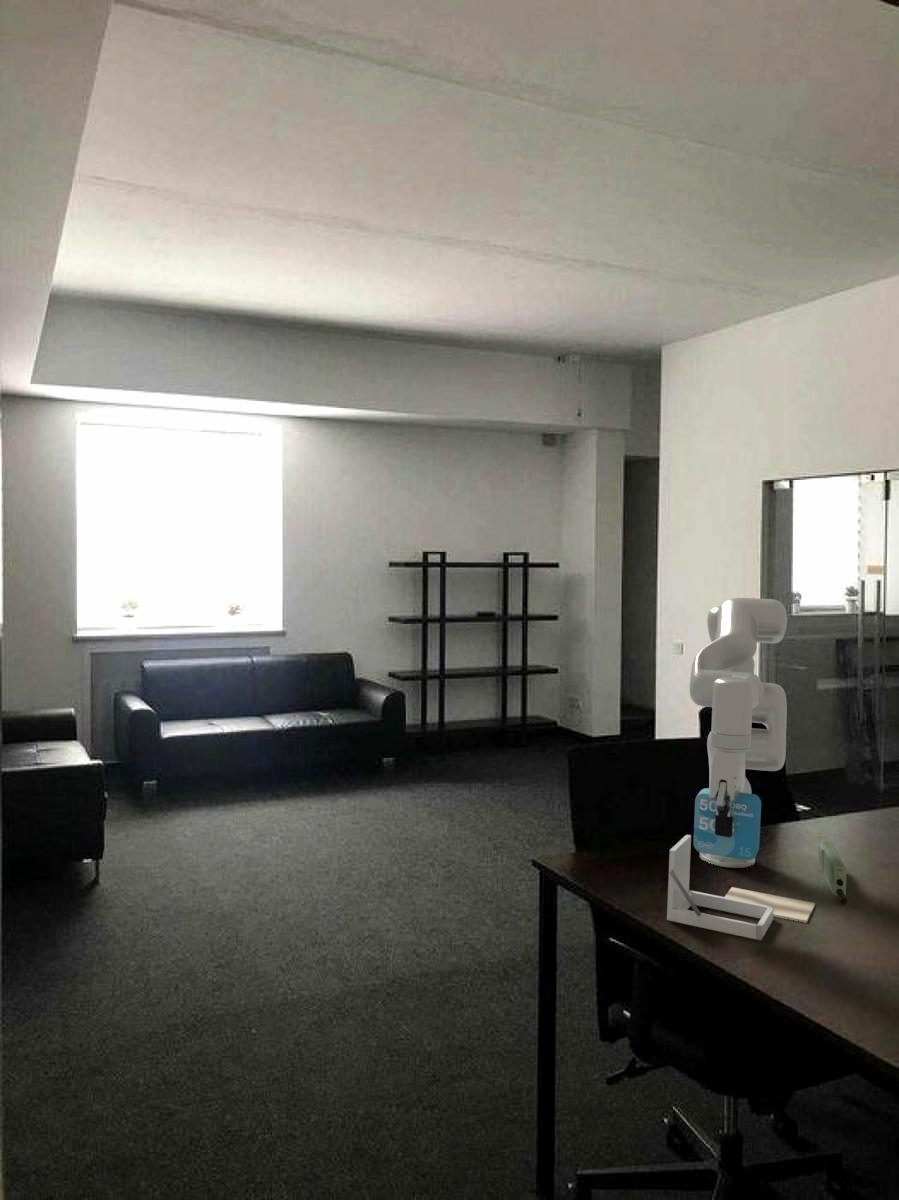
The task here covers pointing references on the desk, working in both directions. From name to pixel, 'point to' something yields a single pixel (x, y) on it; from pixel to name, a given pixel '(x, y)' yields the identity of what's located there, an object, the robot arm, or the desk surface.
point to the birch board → (775, 904)
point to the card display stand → (709, 901)
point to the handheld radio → (833, 869)
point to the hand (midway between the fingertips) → (726, 831)
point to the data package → (743, 830)
